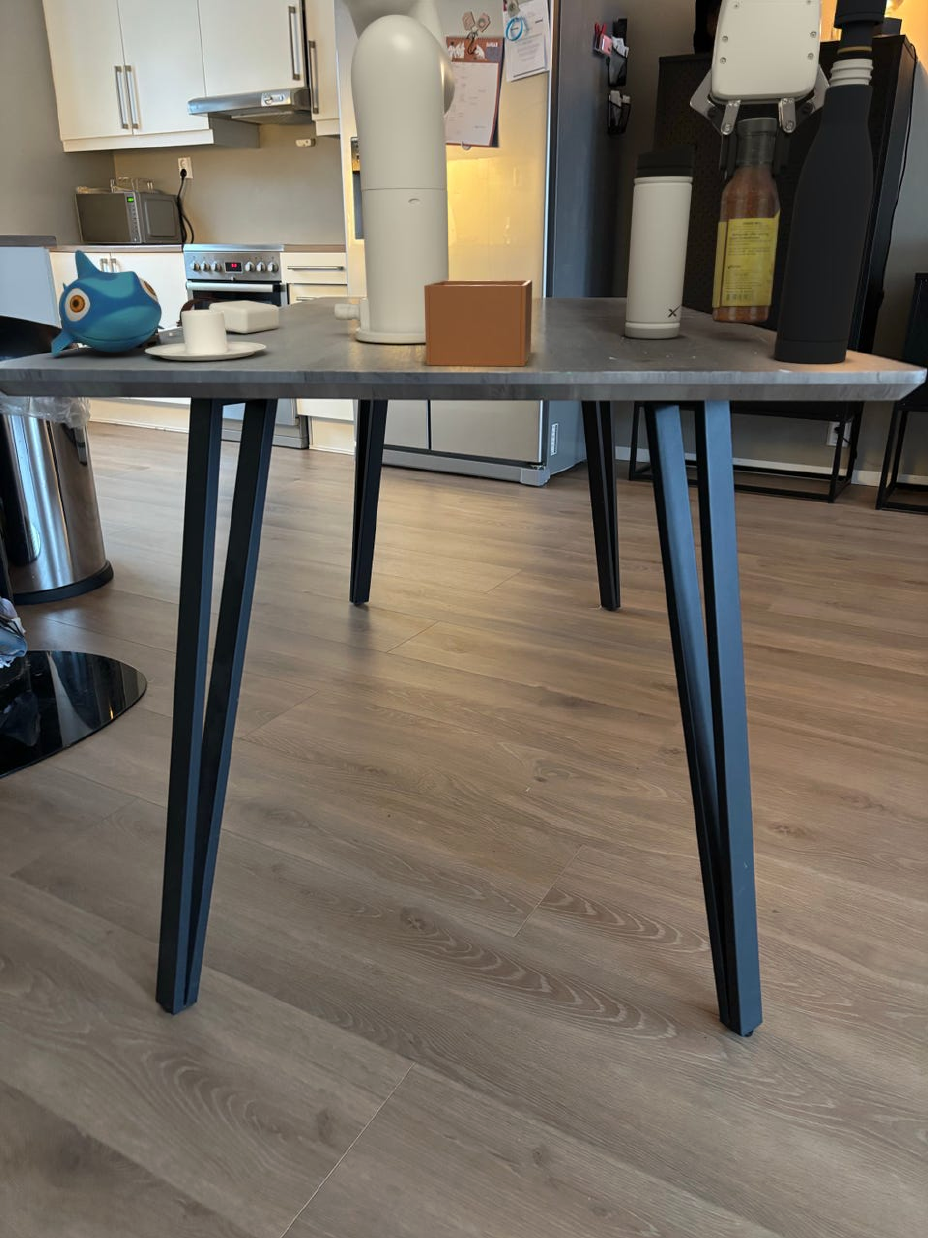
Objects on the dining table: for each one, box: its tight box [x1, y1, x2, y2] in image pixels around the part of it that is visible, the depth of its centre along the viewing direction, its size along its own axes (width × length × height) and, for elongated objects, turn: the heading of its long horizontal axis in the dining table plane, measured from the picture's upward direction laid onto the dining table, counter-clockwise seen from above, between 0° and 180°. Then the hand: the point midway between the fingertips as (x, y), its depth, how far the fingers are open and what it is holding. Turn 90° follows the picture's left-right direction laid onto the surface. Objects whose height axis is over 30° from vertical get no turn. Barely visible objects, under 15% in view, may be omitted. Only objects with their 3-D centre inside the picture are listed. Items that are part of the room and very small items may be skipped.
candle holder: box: [144, 309, 267, 362], centre depth 88 cm, size 12×12×4 cm
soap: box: [208, 300, 280, 334], centre depth 112 cm, size 9×6×3 cm, turn 163°
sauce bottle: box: [711, 117, 781, 325], centre depth 93 cm, size 7×6×20 cm
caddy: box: [424, 279, 533, 367], centre depth 84 cm, size 9×9×7 cm
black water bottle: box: [773, 0, 888, 365], centre depth 77 cm, size 6×6×30 cm
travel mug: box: [624, 142, 699, 340], centre depth 98 cm, size 6×7×20 cm
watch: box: [178, 296, 223, 324], centre depth 111 cm, size 8×5×4 cm
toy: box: [50, 249, 165, 357], centre depth 90 cm, size 12×18×10 cm, turn 41°
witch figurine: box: [168, 319, 183, 338], centre depth 112 cm, size 5×12×2 cm, turn 175°
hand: (751, 175), depth 92 cm, fingers closed on sauce bottle, 4 cm apart
